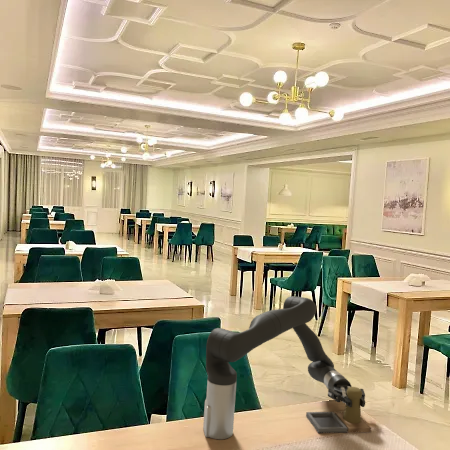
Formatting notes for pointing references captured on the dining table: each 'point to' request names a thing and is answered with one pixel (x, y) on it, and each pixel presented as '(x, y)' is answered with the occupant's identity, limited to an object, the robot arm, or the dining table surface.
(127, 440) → the dining table surface
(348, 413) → the cork
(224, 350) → the robot arm
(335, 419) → the shallow grey tray
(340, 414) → the light brown wooden board
